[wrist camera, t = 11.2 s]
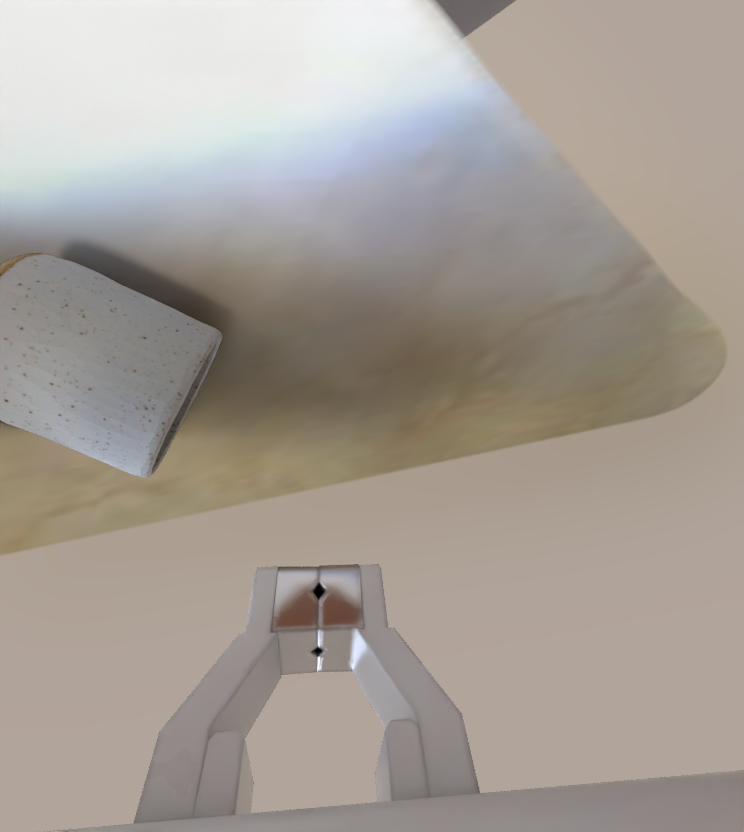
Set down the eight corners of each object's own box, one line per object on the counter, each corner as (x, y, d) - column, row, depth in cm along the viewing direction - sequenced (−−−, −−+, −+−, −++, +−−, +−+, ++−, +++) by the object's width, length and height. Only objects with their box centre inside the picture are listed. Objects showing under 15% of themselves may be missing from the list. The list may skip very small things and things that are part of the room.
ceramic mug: (57, 223, 19) (-81, 269, 13) (235, 309, 22) (198, 383, 15) (21, 403, 24) (-92, 503, 17) (172, 455, 26) (123, 558, 20)
